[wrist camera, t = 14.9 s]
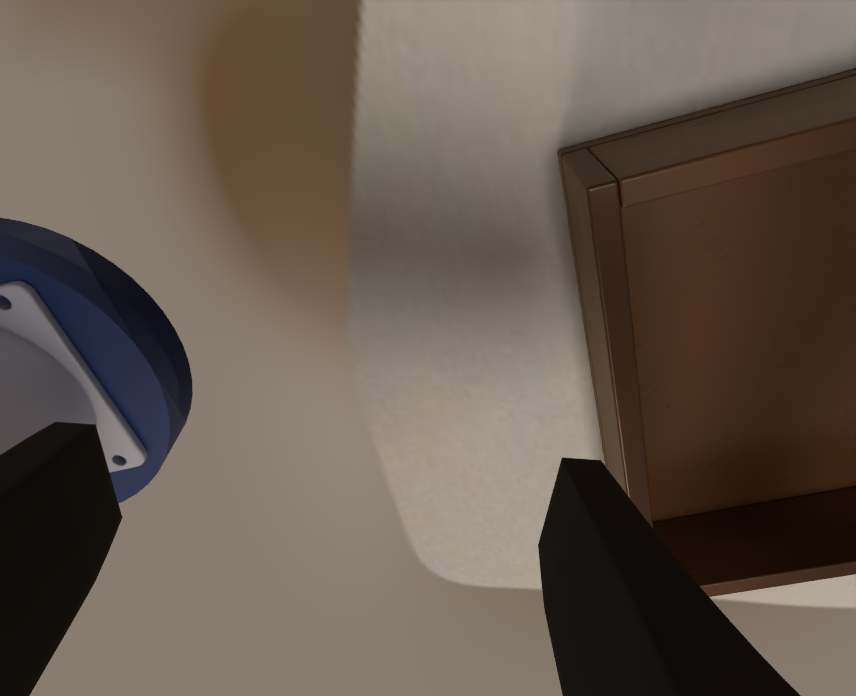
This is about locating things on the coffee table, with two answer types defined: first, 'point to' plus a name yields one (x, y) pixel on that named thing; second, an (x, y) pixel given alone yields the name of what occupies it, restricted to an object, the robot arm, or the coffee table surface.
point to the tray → (728, 329)
